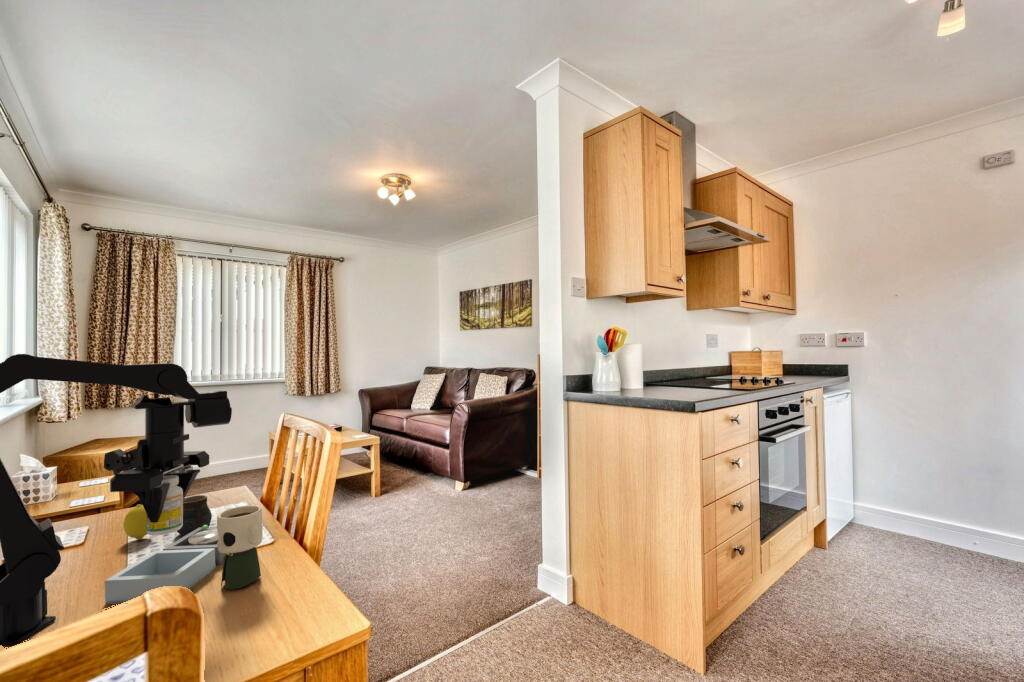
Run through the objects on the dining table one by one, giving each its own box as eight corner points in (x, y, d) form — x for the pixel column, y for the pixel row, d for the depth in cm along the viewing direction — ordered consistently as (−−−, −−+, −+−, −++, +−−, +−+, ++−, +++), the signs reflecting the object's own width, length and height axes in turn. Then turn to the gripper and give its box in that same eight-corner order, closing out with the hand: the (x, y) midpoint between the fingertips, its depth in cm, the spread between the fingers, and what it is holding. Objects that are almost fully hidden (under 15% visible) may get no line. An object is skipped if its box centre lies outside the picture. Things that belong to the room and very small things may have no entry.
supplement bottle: (177, 533, 83) (177, 479, 83) (141, 538, 81) (141, 483, 81) (186, 523, 88) (186, 472, 88) (152, 527, 86) (152, 475, 86)
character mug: (205, 584, 84) (203, 512, 84) (245, 568, 90) (243, 500, 90) (236, 600, 78) (235, 523, 78) (277, 581, 84) (275, 510, 84)
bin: (174, 601, 78) (173, 577, 78) (105, 604, 78) (104, 580, 78) (215, 568, 90) (214, 548, 90) (155, 571, 89) (154, 550, 89)
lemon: (128, 537, 106) (127, 503, 106) (158, 533, 109) (157, 499, 109) (120, 547, 101) (119, 510, 101) (151, 541, 104) (150, 506, 104)
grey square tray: (219, 564, 91) (219, 543, 91) (163, 567, 91) (162, 545, 91) (249, 541, 102) (249, 522, 102) (199, 543, 102) (198, 524, 102)
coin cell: (215, 552, 93) (215, 541, 93) (180, 553, 93) (180, 542, 93) (235, 537, 100) (235, 527, 100) (202, 539, 100) (202, 529, 100)
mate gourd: (218, 530, 110) (217, 488, 110) (182, 542, 103) (181, 497, 103) (203, 524, 113) (202, 483, 114) (167, 535, 107) (166, 492, 107)
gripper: (152, 424, 94) (152, 502, 93) (74, 442, 75) (73, 539, 75) (210, 423, 95) (210, 499, 94) (147, 440, 76) (147, 535, 76)
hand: (164, 516), depth 85 cm, fingers closed on supplement bottle, 5 cm apart
